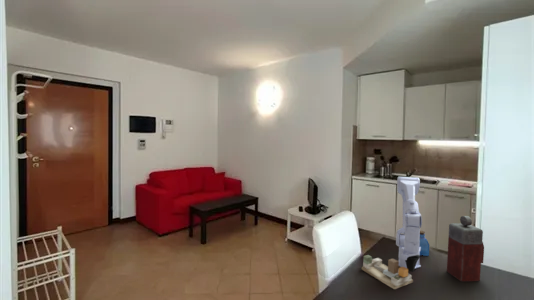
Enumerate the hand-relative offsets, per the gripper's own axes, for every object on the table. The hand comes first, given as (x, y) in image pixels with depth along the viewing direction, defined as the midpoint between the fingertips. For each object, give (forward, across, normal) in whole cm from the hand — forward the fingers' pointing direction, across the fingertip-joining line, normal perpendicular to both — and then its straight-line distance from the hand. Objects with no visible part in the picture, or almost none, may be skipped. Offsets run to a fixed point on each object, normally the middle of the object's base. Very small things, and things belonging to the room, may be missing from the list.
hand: (410, 270), depth 117 cm
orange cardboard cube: (+1, +5, -1) cm, 5 cm away
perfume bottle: (+5, -34, -9) cm, 35 cm away
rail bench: (+5, +4, -9) cm, 11 cm away
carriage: (+2, +5, -5) cm, 8 cm away
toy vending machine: (+5, -25, +13) cm, 29 cm away
